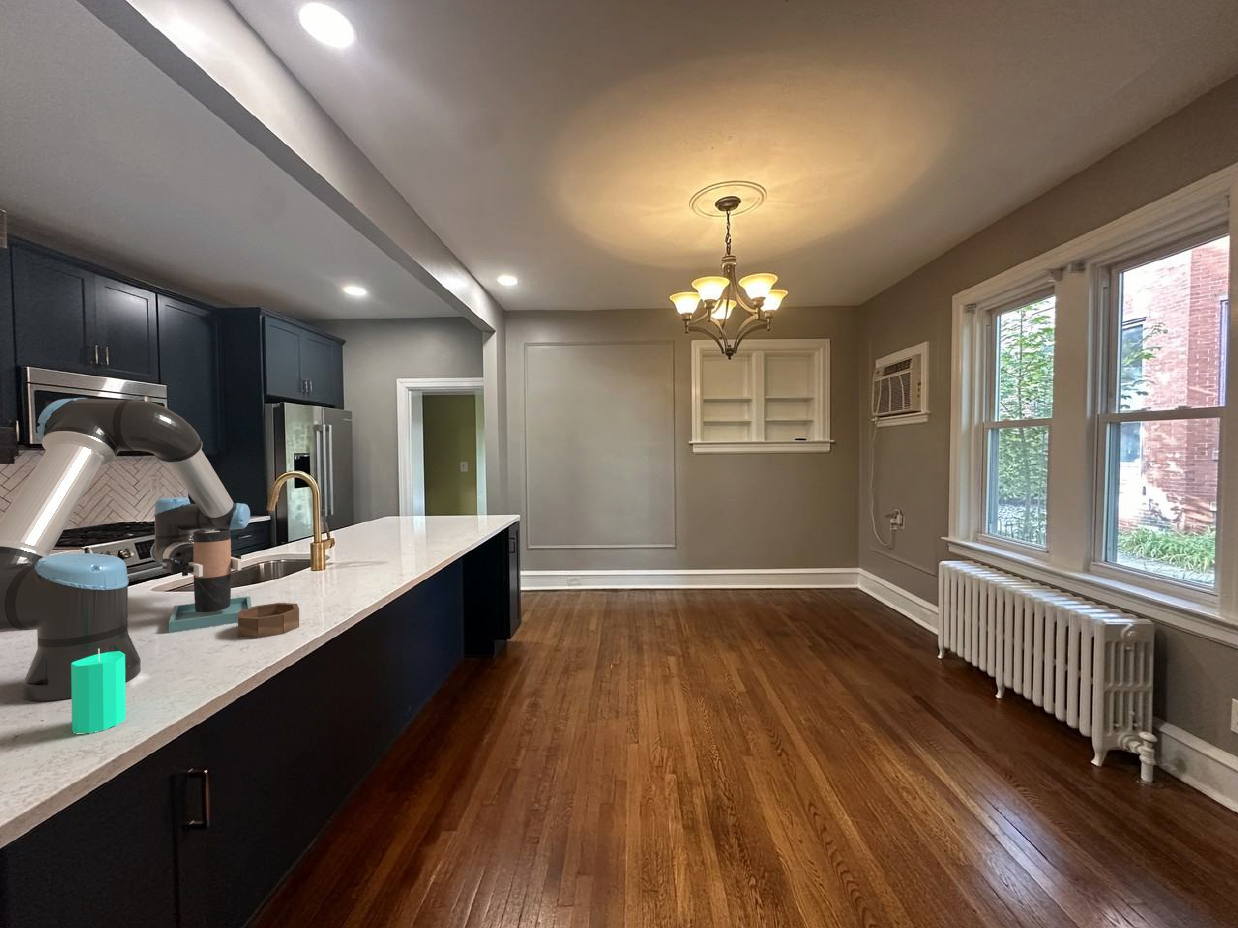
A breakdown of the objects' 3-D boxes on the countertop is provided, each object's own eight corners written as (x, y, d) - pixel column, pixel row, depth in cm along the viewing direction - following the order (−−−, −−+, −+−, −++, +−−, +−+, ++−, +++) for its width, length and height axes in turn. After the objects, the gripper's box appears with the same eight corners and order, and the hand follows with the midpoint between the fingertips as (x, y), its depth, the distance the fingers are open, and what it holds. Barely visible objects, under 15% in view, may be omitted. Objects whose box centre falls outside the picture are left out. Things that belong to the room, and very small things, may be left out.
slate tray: (168, 632, 122) (168, 622, 122) (174, 615, 135) (174, 605, 135) (252, 620, 132) (252, 610, 132) (250, 605, 144) (250, 596, 144)
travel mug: (215, 612, 129) (215, 533, 129) (185, 612, 130) (184, 532, 129) (238, 603, 137) (238, 528, 137) (210, 603, 137) (209, 527, 137)
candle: (75, 739, 77) (74, 659, 77) (68, 726, 81) (67, 649, 81) (130, 722, 82) (129, 647, 82) (121, 711, 86) (120, 638, 85)
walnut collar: (238, 641, 117) (238, 621, 117) (237, 626, 127) (237, 608, 127) (300, 630, 124) (300, 612, 124) (295, 617, 134) (295, 600, 134)
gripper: (229, 563, 151) (266, 574, 139) (136, 577, 134) (169, 591, 122) (229, 538, 151) (265, 546, 139) (136, 548, 134) (169, 559, 122)
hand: (220, 567), depth 130 cm, fingers closed on travel mug, 7 cm apart
